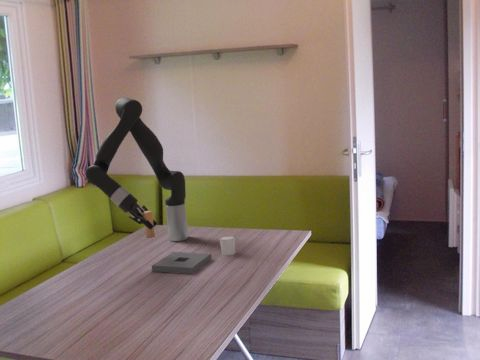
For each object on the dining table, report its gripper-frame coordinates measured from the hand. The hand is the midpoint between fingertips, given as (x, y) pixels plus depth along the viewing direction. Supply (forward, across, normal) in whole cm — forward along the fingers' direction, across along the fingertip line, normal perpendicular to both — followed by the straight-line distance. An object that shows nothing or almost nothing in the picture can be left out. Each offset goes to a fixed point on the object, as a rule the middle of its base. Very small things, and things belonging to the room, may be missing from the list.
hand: (153, 226), depth 240 cm
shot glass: (+32, +7, -10) cm, 34 cm away
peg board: (+20, -8, 0) cm, 22 cm away
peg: (+2, 0, +5) cm, 5 cm away
